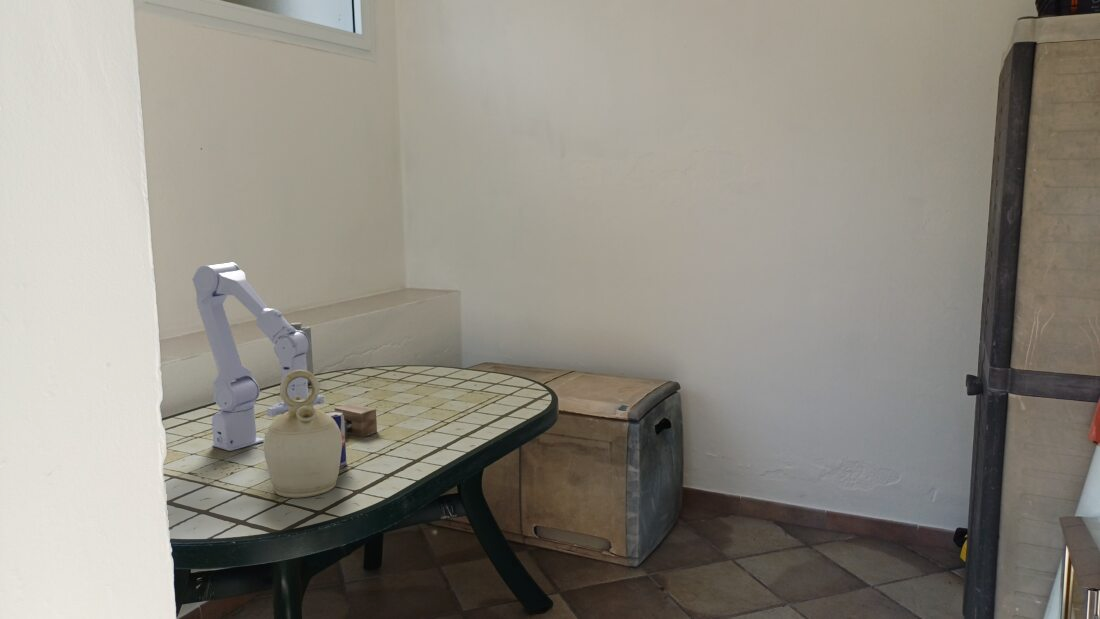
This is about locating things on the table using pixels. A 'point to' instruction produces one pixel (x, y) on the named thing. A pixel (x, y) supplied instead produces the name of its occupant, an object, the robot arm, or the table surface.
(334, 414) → the energy drink
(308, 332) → the hip flask
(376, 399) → the table surface
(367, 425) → the socket block
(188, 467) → the table surface
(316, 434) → the jug
